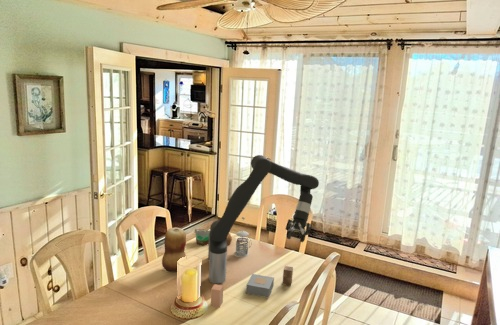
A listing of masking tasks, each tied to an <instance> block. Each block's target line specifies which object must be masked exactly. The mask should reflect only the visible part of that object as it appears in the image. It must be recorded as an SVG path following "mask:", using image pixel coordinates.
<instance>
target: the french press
mask: <svg viewBox="0 0 500 325" xmlns="http://www.w3.org/2000/svg"><path fill="white" fill-rule="evenodd" d="M245 218H246V217H245V216H242V217H241V219H242V220H245ZM235 235H236V236H237V239H236V242H235V252H234V253H233V255H234V256H235V257H237V258H247V257H249V256H250V253H249V252H248V251H249V249H250V248H251V247H252V239H251V238H250V237H249V235H250V233H249V232H247V231H246V230H239V231H238V232H236V234H235ZM249 243H250V244H249Z"/></svg>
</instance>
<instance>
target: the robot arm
mask: <svg viewBox="0 0 500 325" xmlns="http://www.w3.org/2000/svg"><path fill="white" fill-rule="evenodd" d="M250 165H251V168H252V170H251V172H250V174H249V176H248V177H247V179H245V180H244V181H243V182H242V183H240V185H239V186H238V187H236V188H235V190H234V191H233V193H232V194H231V196H230V198H229V200H228V202H227V205H226V207H225V210H224V212H223V214H222V217H220V219H218V220H215V221H213V222H212V224H211V225H210V228H209V231H210V260H209V269H208V270H209V271H208V277H209V278H208V281H209V282H210V283H212V284H216V285H220V284H223V283H225V282H226V280H227V256H228V244H227V236H228V234H229V233H230V231H231V230H232V227H233V226H234V225H235V222H236V221H237V219H238V218H239V216H240V215H241V213H242V212H243V211H244V209H245V208H246V206H247V205H248V204H249V201H250V200H251V199H252V197H253V195H254V193H255V192H256V190H257V189H258V187H259V186H260V184H261V183H262V182H263V180H264V179H265V178H266V177H267V176H268V174H271V175H273V176H275V177H278V179H281V180H283V181H286V182H288V183H290V184H294V185H296V186H300V189H299V193H300V194H299V198H298V201H297V205H296V208H295V211H294V213H293V214H294V215H293V220H291V219H290V218H289V219H288V220H287V223H286V226H285V231H287V234H286V239H288V240H291V238H292V233H293V232H294V231H295V230H299V231H300V232H301V236H300V239H299V242H300V243H304V242H305V239H306V236H310V234H311V228H312V224H311V223H310V222H307V221H308V219H309V215H310V212H311V206H312V202H313V195H312V193H311V191H312V190H315V189H317V188H318V187H319V184H320V182H319V179H318V178H317V177H316V176H314V175H310V174H306V173H303V172H302V173H301V172H300V171H296V170H294V169H291V168H289V167H286V166H283V165H281V164H278V163H277V162H274V161H272V160H270V159H268V158H267V157H266V156H264V155H261V154H257V155H255V156H254V157H252V159H251V161H250Z"/></svg>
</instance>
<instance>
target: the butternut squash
mask: <svg viewBox="0 0 500 325" xmlns="http://www.w3.org/2000/svg"><path fill="white" fill-rule="evenodd" d="M186 243H187V233H186V231H185V230H184V229H182V228H181V227H171V228H169V229H168V230H166V233H165V235H164V252H163V256H162V258H161V264H162V268H163V269H164V270H165V271H166V272H168V273H169V272H172V273H174V272H176V273H177V272H178V271H177V261H178V260H179V259H180V258H182V257H185V256H186V257H187V255H186V252H185V248H186V245H187V244H186Z"/></svg>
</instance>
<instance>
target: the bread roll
mask: <svg viewBox="0 0 500 325" xmlns="http://www.w3.org/2000/svg"><path fill="white" fill-rule="evenodd" d="M232 240H233V238H232V235H231V233H230V232H229V234H228V236H227V245H231V243H232Z"/></svg>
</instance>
